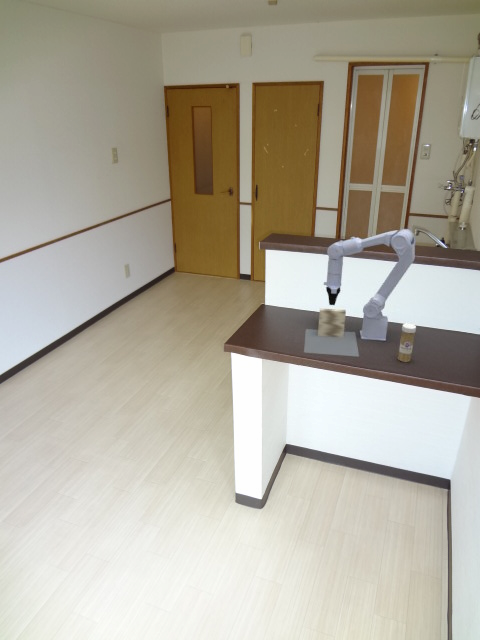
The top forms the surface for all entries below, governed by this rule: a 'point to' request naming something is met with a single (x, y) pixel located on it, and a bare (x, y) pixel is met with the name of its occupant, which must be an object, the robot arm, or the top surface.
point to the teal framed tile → (331, 322)
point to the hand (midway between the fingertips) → (331, 304)
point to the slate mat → (331, 344)
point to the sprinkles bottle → (406, 342)
